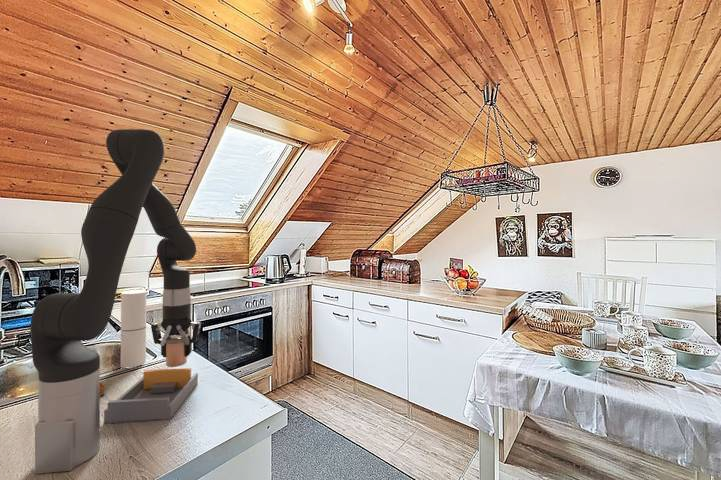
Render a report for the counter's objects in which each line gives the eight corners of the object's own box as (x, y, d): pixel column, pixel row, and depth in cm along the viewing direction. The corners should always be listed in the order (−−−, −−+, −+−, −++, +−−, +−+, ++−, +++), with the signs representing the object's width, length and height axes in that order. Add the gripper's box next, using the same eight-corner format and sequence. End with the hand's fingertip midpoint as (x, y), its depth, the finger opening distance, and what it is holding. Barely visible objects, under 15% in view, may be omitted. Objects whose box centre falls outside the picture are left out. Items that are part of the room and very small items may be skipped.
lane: (170, 419, 79) (171, 399, 79) (104, 423, 77) (104, 402, 77) (197, 383, 98) (197, 367, 98) (144, 386, 96) (144, 369, 96)
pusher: (185, 391, 92) (185, 374, 92) (137, 394, 90) (138, 376, 90) (191, 384, 96) (191, 368, 96) (145, 387, 94) (145, 370, 94)
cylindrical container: (132, 369, 107) (133, 294, 106) (115, 367, 108) (115, 293, 108) (150, 361, 114) (151, 290, 113) (134, 359, 115) (134, 289, 115)
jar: (182, 366, 98) (183, 340, 98) (162, 367, 97) (162, 341, 97) (189, 359, 104) (190, 334, 103) (170, 359, 103) (170, 335, 103)
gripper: (145, 305, 95) (145, 362, 95) (197, 304, 97) (197, 360, 98) (157, 299, 102) (157, 352, 103) (205, 299, 105) (205, 350, 105)
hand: (176, 355), depth 100 cm, fingers closed on jar, 5 cm apart
